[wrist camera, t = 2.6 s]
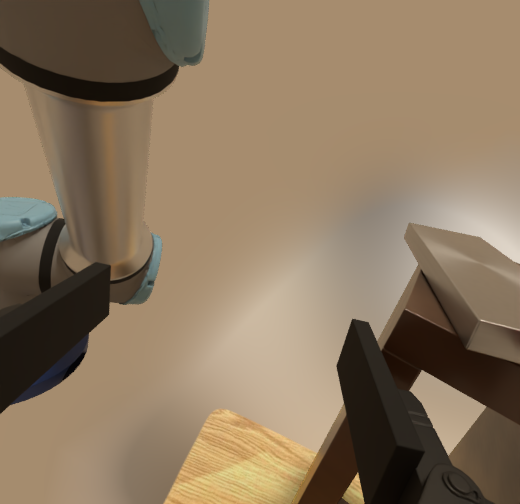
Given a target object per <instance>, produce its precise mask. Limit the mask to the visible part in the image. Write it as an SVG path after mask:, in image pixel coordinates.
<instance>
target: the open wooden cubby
mask: <svg viewBox="0 0 520 504" xmlns="http://www.w3.org/2000/svg"><path fill="white" fill-rule="evenodd" d="M516 264H518V263H516ZM518 265H519V266H520V264H518ZM377 343H378V345H379V347H380V350H381V352H382V354H383V356H384V359H385V361H386V363H387V366H388V368H389V370H390V372H391V375H392V377H393V379H394V381H395V384H396V386H397V388H398V389H402V390H406V391H409V390H410V388H411V387H412V385H413V383H414V382H415V380H416V379H417V377H418V376H419V374H420V372H421V370H424V371H425V372H427V373H429V374H431V375H432V376H434V377H436V378H437V379H439V380H441V381H443V382H445V383H447V384H448V385H450V386H452V387H453V388H455V389H457V390H459V391H460V392H462V393H464V394H466V395H467V396H469V397H471V398H473V399H475V400H477V401H478V402H480V403H482V404H483V405H485V406H487V407H486V409H485V410H484V411H483V412H482V414H481V415H480V416H479V417H478V419H477V420H476V421H475V423H474V424H473V425H472V426H471V428H470V429H469V430H468V432H467V433H466V434H465V436H464V437H463V438H462V439H461V441H460V442H459V443H458V444H457V446H456V447H455V448H454V450H453V451H452V452H451V453H450V455H449V456H448V457H449V459H450V461H451V463H452V465H453V466H454V467H456V468H458V469H460V470H462V471H463V472H464V473H465V474H466V475H468V476H469V477H470V478H471V479H472V480H473V481H474V482H475V483H476V485H477V486H478V487H479V488H480V490H481V492H482V494H483V496H484V498H486V499H487V500H489V501H491V502H493V503H495V504H520V364H518V363H514V362H511V361H507V360H503V359H500V358H496V357H492V356H489V355H485V354H481V353H478V352H474V351H470V350H467V349H466V348H465V347H464V345H463V343H462V341H461V340H460V338H459V336H458V334H457V332H456V330H455V329H454V327H453V325H452V323H451V321H450V320H449V318H448V316H447V314H446V312H445V311H444V309H443V307H442V305H441V303H440V302H439V300H438V298H437V296H436V294H435V293H434V291H433V289H432V287H431V285H430V284H429V282H428V280H427V278H426V276H425V275H424V273H423V271H422V269H421V267H420V266H419V264H418V266H417V268H416V270H415V272H414V274H413V275H412V277H411V279H410V281H409V283H408V285H407V287H406V289H405V291H404V292H403V294H402V296H401V298H400V300H399V302H398V304H397V305H396V307H395V309H394V311H393V313H392V315H391V317H390V319H389V320H388V322H387V324H386V326H385V328H384V330H383V332H382V334H381V335H380V337H379V339H378V341H377ZM357 472H358V468H357V463H356V459H355V454H354V449H353V444H352V439H351V434H350V429H349V425H348V420H347V415H346V410H345V405H343V407H342V409H341V410H340V413H339V414H338V416H337V418H336V420H335V422H334V423H333V425H332V427H331V429H330V431H329V433H328V435H327V437H326V439H325V440H324V443H323V444H322V446H321V448H320V450H319V452H318V453H317V455H316V457H315V459H314V461H313V463H312V465H311V467H310V468H309V470H308V472H307V474H306V476H305V478H304V480H303V482H302V484H301V486H300V488H299V490H298V492H297V493H296V495H295V497H294V499H293V501H292V503H291V504H349V503H348V502H346V501H345V500H344V499H343V498H342V496H343V495H344V493H345V491H346V490H347V488H348V487H349V485H350V484H351V482H352V480H353V479H354V477H355V476H356V474H357Z"/></svg>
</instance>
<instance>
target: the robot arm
mask: <svg viewBox="0 0 520 504" xmlns="http://www.w3.org/2000/svg"><path fill="white" fill-rule="evenodd" d="M208 7H209V0H0V68H1V69H3V70H4V71H5V72H7V73H8V74H10V75H11V76H12V77H14V78H15V79H17V80H18V81H20V82H22V83H24V87H25V90H26V93H27V97H28V100H29V103H30V107H31V110H32V113H33V117H34V120H35V123H36V126H37V130H38V133H39V136H40V140H41V143H42V147H43V150H44V153H45V157H46V160H47V163H48V167H49V170H50V173H51V177H52V180H53V184H54V187H55V190H56V193H57V197H58V200H59V204H60V207H61V210H62V214H63V217H64V219H61V218H57V212H56V210H55V207H54V206H53V205H51V204H50V203H46V202H45V201H42V200H38V199H32V198H20V197H8V198H7V197H5V198H0V413H2V412H3V411H4V410H5V409H6V408H7V407H8V406H9V405H11V404H12V403H13V402H14V401H15V400H16V399H17V398H18V397H19V396H20V395H21V394H23V393H24V392H25V391H26V390H27V389H28V388H29V387H30V386H31V385H32V384H34V383H35V382H36V381H37V380H38V379H39V378H40V377H41V376H42V375H43V374H45V373H46V372H47V371H48V370H49V369H50V368H51V367H52V366H53V365H54V364H55V363H57V362H58V361H59V360H60V359H61V358H62V357H63V356H64V355H65V354H66V353H68V352H69V351H70V350H71V349H72V348H73V347H74V346H75V345H76V344H77V343H78V342H80V341H81V340H82V339H83V338H84V337H85V336H86V335H87V334H88V333H89V332H91V331H92V330H93V329H94V328H95V327H96V326H97V325H98V324H99V323H100V322H102V321H103V320H104V319H105V318H106V317H107V316H108V315H109V303H110V302H114V303H119V304H123V305H127V304H142V303H144V302H145V301H147V299H148V298H149V296H150V294H151V292H152V289H153V286H154V281H155V279H156V276H157V273H158V268H159V264H160V259H161V252H162V240H161V238H160V237H159V236H158V235H155V234H153V233H151V232H150V230H149V228H148V226H147V225H146V223H145V222H144V221H143V217H144V206H145V193H146V181H147V169H148V157H149V145H150V133H151V120H152V109H153V99H154V98H156V97H158V96H160V95H161V94H163V93H164V92H166V91H167V90H168V89H169V88H170V87H171V86H172V84H173V83H174V81H175V79H176V77H177V74H178V69H179V66H181V67H183V66H186V65H192V66H193V65H197V64H199V63H200V62H201V60H202V58H203V53H204V47H205V38H206V29H207V21H208V9H209V8H208ZM337 371H338V376H339V381H340V386H341V390H342V395H343V400H344V405H345V410H346V415H347V420H348V425H349V429H350V434H351V439H352V444H353V449H354V454H355V459H356V463H357V468H358V473H359V478H360V483H361V488H362V493H363V498H364V502H365V504H495V503H493V502H491V501H489V500H487V499H486V498H484V496H483V494H482V492H481V490H480V488H479V487H478V486H477V485H476V483H475V482H474V481H473V480H472V479H471V478H470V477H469V476H468V475H466V474H465V473H464V472H463V471H462V470H460V469H458V468H456V467H454V466H453V465H452V463H451V461H450V459H449V457H448V455H447V453H446V451H445V449H444V447H443V445H442V443H441V441H440V439H439V437H438V435H437V433H436V431H435V429H434V428H433V425H432V423H431V421H430V419H429V418H428V417H427V416H428V415H427V413H426V411H425V409H424V408H423V405H422V403H421V402H420V401H419V400H418V399H417V398H416V397H415V396H414V395H413V394H412V393H411V392H410V391H406V390H402V389H398V388H397V386H396V384H395V381H394V379H393V377H392V375H391V372H390V370H389V368H388V366H387V363H386V361H385V359H384V356H383V354H382V352H381V350H380V347H379V345H378V343H377V341H376V338H375V336H374V334H373V331H372V329H371V327H370V325H369V323H368V322H365V321H360V320H356V319H352V322H351V324H350V327H349V330H348V333H347V336H346V340H345V343H344V345H343V348H342V352H341V354H340V357H339V360H338V363H337Z"/></svg>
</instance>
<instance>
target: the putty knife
mask: <svg viewBox="0 0 520 504" xmlns="http://www.w3.org/2000/svg"><path fill="white" fill-rule="evenodd" d="M404 239H405V240H406V242H407V244H408V246H409V248H410V249H411V251H412V253H413V255H414V257H415V258H416V260H417V262H418V264H419V266H420V267H421V269H422V271H423V273H424V275H425V276H426V278H427V280H428V282H429V284H430V285H431V287H432V289H433V291H434V293H435V294H436V296H437V298H438V300H439V302H440V303H441V305H442V307H443V309H444V311H445V312H446V314H447V316H448V318H449V320H450V321H451V323H452V325H453V327H454V329H455V330H456V332H457V334H458V336H459V338H460V340H461V341H462V343H463V345H464V347H465V348H466V349H467V350H470V351H474V352H478V353H481V354H485V355H489V356H492V357H496V358H500V359H503V360H507V361H511V362H514V363H518V364H520V266H519V265H518V264H516V263H515V262H513V261H512V260H511V259H509V258H508V257H507V256H505V255H504V254H502V253H501V252H500V251H498V250H497V249H496V248H494V247H493V246H491V245H490V244H489V243H487V242H486V241H484V240H483V239H482V238H480V237H476V236H471V235H466V234H461V233H457V232H451V231H447V230H442V229H437V228H432V227H427V226H423V225H418V224H413V223H409V224H408V227H407V230H406V233H405V236H404Z"/></svg>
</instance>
